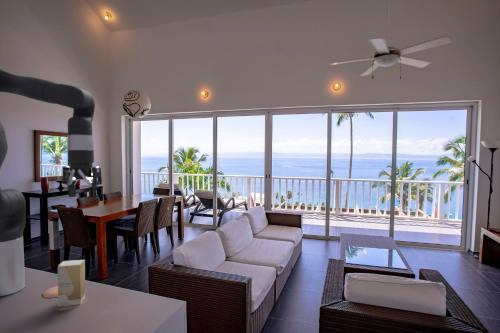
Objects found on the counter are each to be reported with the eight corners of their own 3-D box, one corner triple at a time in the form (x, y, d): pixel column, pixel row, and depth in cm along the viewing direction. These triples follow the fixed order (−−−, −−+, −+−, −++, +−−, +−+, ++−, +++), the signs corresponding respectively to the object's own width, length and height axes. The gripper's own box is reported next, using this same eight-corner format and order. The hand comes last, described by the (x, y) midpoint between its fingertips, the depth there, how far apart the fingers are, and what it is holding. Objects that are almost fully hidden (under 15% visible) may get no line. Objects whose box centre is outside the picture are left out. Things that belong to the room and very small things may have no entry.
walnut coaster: (45, 309, 84) (45, 306, 84) (73, 295, 93) (73, 292, 93) (68, 315, 81) (68, 312, 81) (95, 299, 90) (95, 297, 90)
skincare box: (57, 307, 84) (55, 266, 83) (63, 300, 88) (61, 260, 88) (82, 304, 85) (80, 264, 85) (86, 297, 90) (85, 258, 89)
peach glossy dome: (36, 296, 91) (36, 294, 91) (59, 285, 99) (59, 283, 99) (56, 300, 89) (56, 297, 89) (78, 288, 96) (78, 286, 96)
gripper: (54, 149, 94) (55, 198, 95) (88, 148, 90) (90, 200, 91) (74, 149, 102) (75, 195, 102) (106, 149, 97) (108, 196, 98)
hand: (82, 197), depth 97 cm, fingers open, 8 cm apart
